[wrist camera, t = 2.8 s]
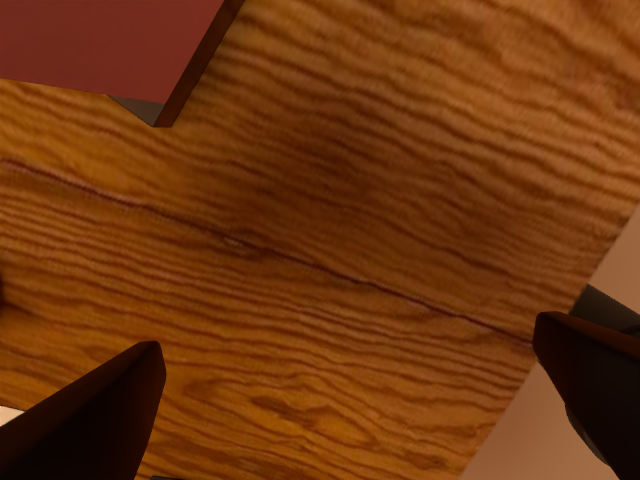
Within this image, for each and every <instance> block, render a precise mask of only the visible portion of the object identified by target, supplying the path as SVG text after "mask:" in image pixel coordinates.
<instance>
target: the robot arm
mask: <svg viewBox="0 0 640 480" xmlns="http://www.w3.org/2000/svg"><path fill="white" fill-rule="evenodd" d="M532 345H533V349H534V352H535V354H536V355H537V357H538V359H539V360H540V362H541V364H542V366H543V367H544V369H545V371H546V372H547V374H548V376H549V377H550V379H551V381H552V382H553V384H554V385H555V388H556V389H557V391H558V393H559V394H560V396H561V398H562V399H563V401H564V402H565V404H566V406H567V407H568V409H569V410H570V412H571V413H572V415H573V416H574V417H575V419H576V420H577V422H578V423H579V424H580V426H581V427H582V429H583V430H584V431H585V433H586V434H587V435H588V437H589V438H590V440H591V441H592V442H593V444H594V445H595V446H596V448H597V449H598V451H599V452H600V453H601V455H602V456H603V457H604V459H605V460H606V462H607V463H608V464H609V466H610V467H611V468H612V470H613V471H614V472H615V474H616V475H617V477H618V478H619V479H620V480H640V339H639V338H636V337H633V336H630V335H627V334H624V333H621V332H618V331H615V330H612V329H609V328H606V327H603V326H600V325H597V324H594V323H591V322H588V321H585V320H582V319H579V318H576V317H573V316H570V315H567V314H564V313H561V312H558V311H550V312H541V313H539V314H538V315H537V317H536V322H535V328H534V334H533V340H532ZM165 381H166V367H165V363H164V359H163V354H162V350H161V346H160V344H159V342H157V341H144V342H139V343H137V344H135V345H133V346H132V347H130V348H129V349H127V350H125V351H124V352H122V353H120V354H119V355H117V356H115V357H114V358H112V359H110V360H109V361H107V362H106V363H104V364H102V365H101V366H99V367H97V368H96V369H94V370H92V371H91V372H89V373H87V374H86V375H84V376H82V377H81V378H79V379H78V380H76V381H74V382H73V383H71V384H69V385H68V386H66V387H64V388H63V389H61V390H59V391H58V392H56V393H55V394H53V395H51V396H50V397H48V398H46V399H45V400H43V401H41V402H40V403H38V404H36V405H35V406H33V407H31V408H30V409H28V410H27V411H25V412H23V413H22V414H20V415H18V416H17V417H15V418H13V419H12V420H10V421H8V422H7V423H5V424H3V425H2V426H0V480H134V478H135V475H136V473H137V470H138V468H139V465H140V463H141V460H142V458H143V455H144V453H145V450H146V447H147V444H148V442H149V438H150V435H151V432H152V428H153V424H154V421H155V417H156V414H157V410H158V406H159V403H160V399H161V396H162V392H163V388H164V385H165Z"/></svg>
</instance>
